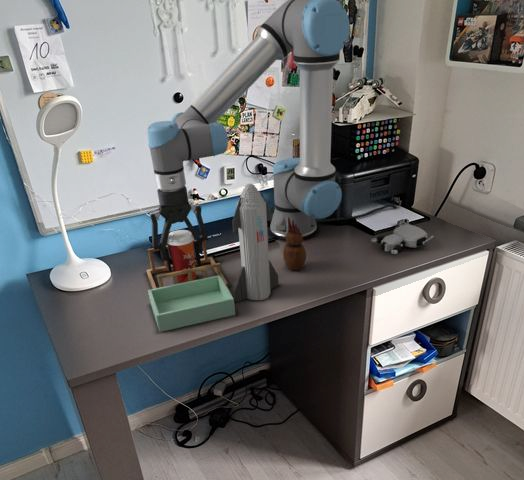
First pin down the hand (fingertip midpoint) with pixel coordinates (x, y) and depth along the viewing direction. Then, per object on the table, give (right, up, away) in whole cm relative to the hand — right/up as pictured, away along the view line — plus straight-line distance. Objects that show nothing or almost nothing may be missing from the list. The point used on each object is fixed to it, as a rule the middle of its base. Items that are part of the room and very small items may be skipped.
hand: (184, 266), depth 148 cm
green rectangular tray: (+4, -13, -11) cm, 17 cm away
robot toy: (+64, +8, +12) cm, 66 cm away
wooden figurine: (+32, 0, +5) cm, 32 cm away
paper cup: (0, -4, +3) cm, 4 cm away
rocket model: (+21, -8, -6) cm, 23 cm away
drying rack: (0, -3, +3) cm, 4 cm away
